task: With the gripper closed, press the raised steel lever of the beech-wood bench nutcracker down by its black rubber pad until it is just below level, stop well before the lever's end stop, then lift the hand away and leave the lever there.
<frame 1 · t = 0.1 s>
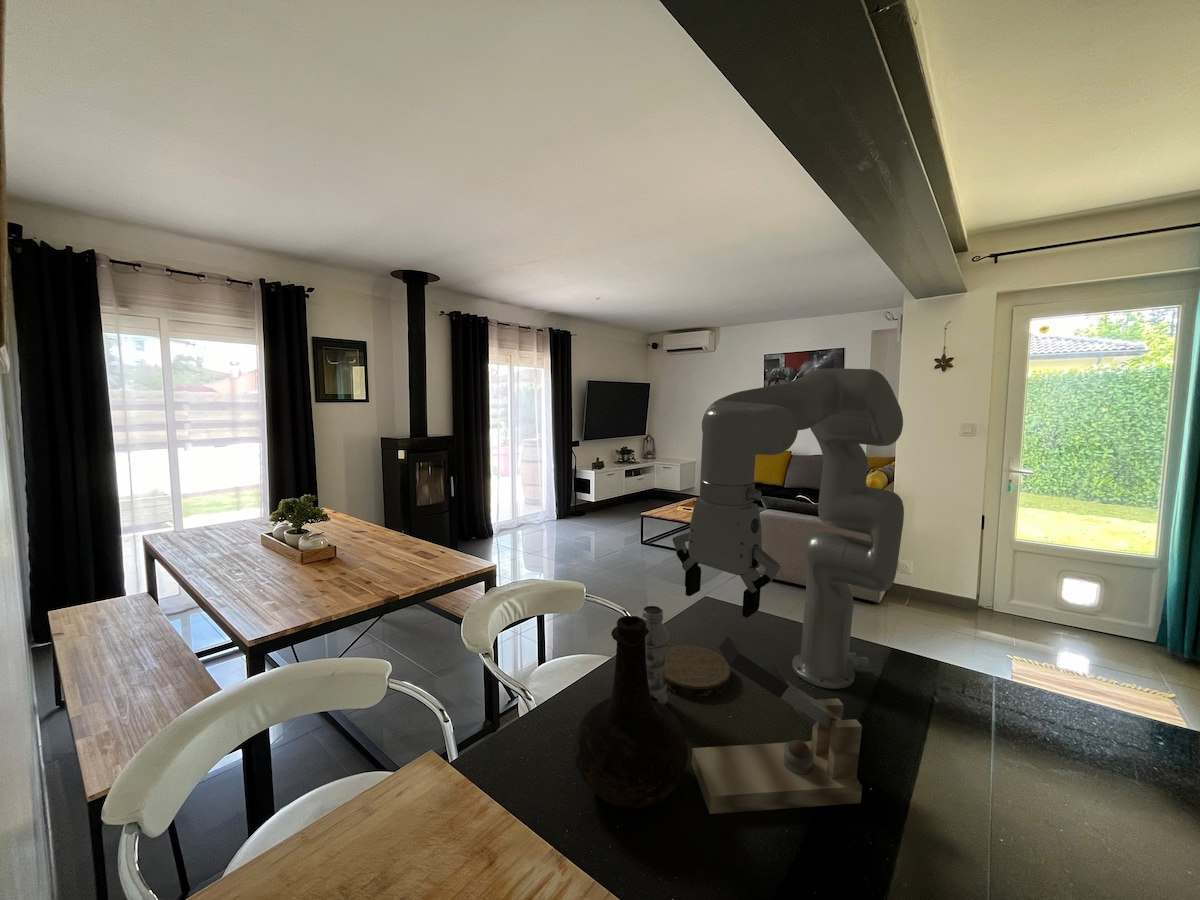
hand: (720, 603, 80), 31 cm above the kitchen counter, tool pointing down, fingers open, 9 cm apart
brown round flat disc: (692, 677, 115), on the kitchen counter
plastic bottle: (650, 705, 105), on the kitchen counter
lever: (782, 689, 83), point 17 cm above the kitchen counter, hinge at -35.0°
nutcracker base: (772, 782, 86), on the kitchen counter
glass bottle: (629, 783, 85), on the kitchen counter
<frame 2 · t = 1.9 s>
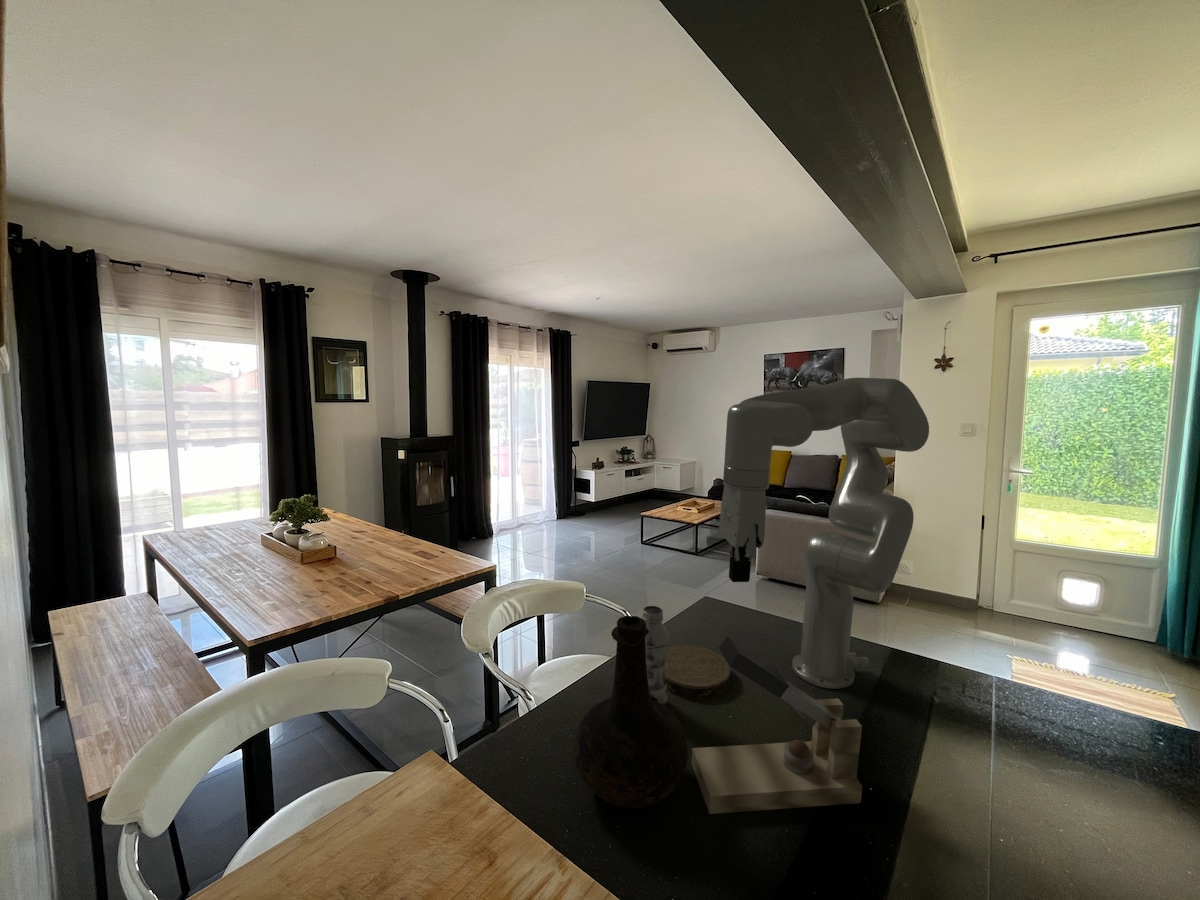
hand: (739, 579, 93), 29 cm above the kitchen counter, tool pointing down, fingers closed
nothing on the kitchen counter moved.
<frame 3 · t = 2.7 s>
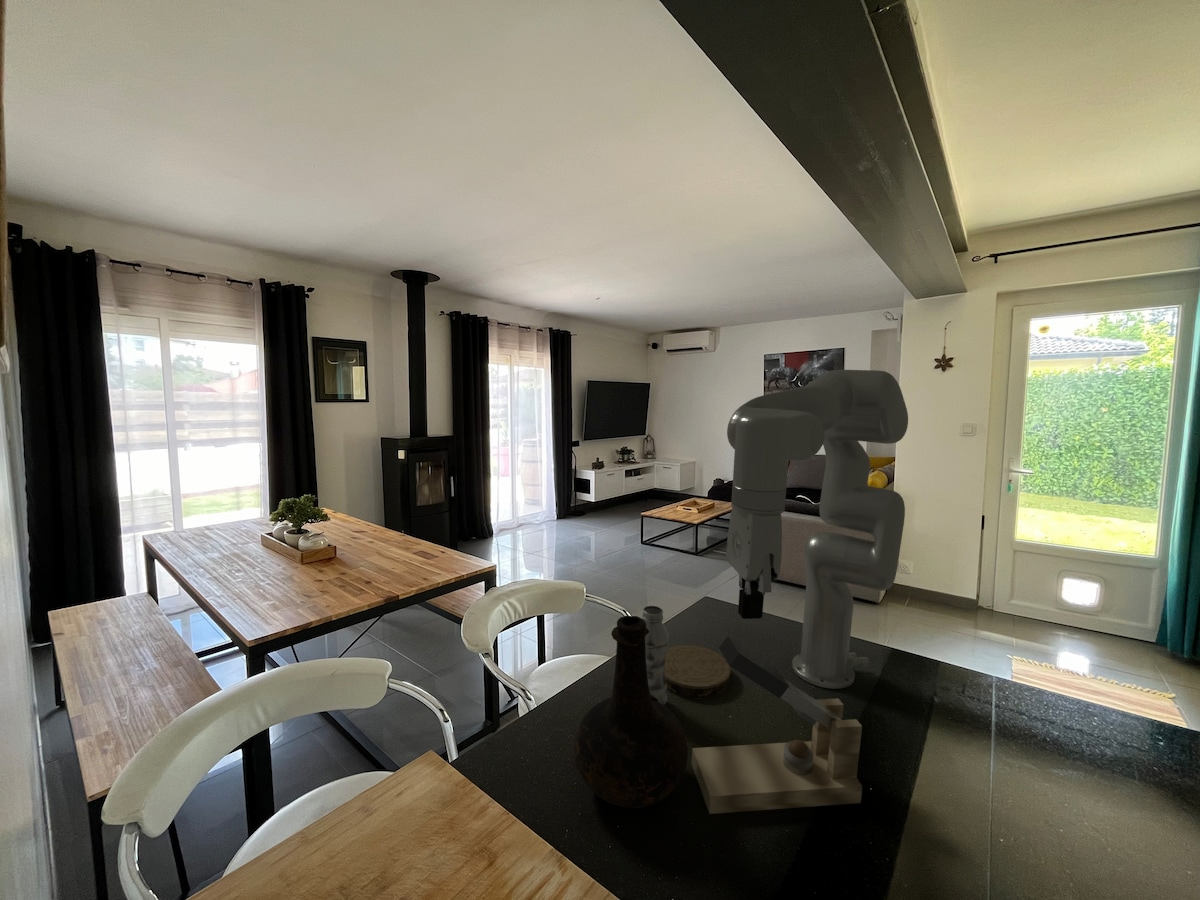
hand: (749, 615, 80), 29 cm above the kitchen counter, tool pointing down, fingers closed
nothing on the kitchen counter moved.
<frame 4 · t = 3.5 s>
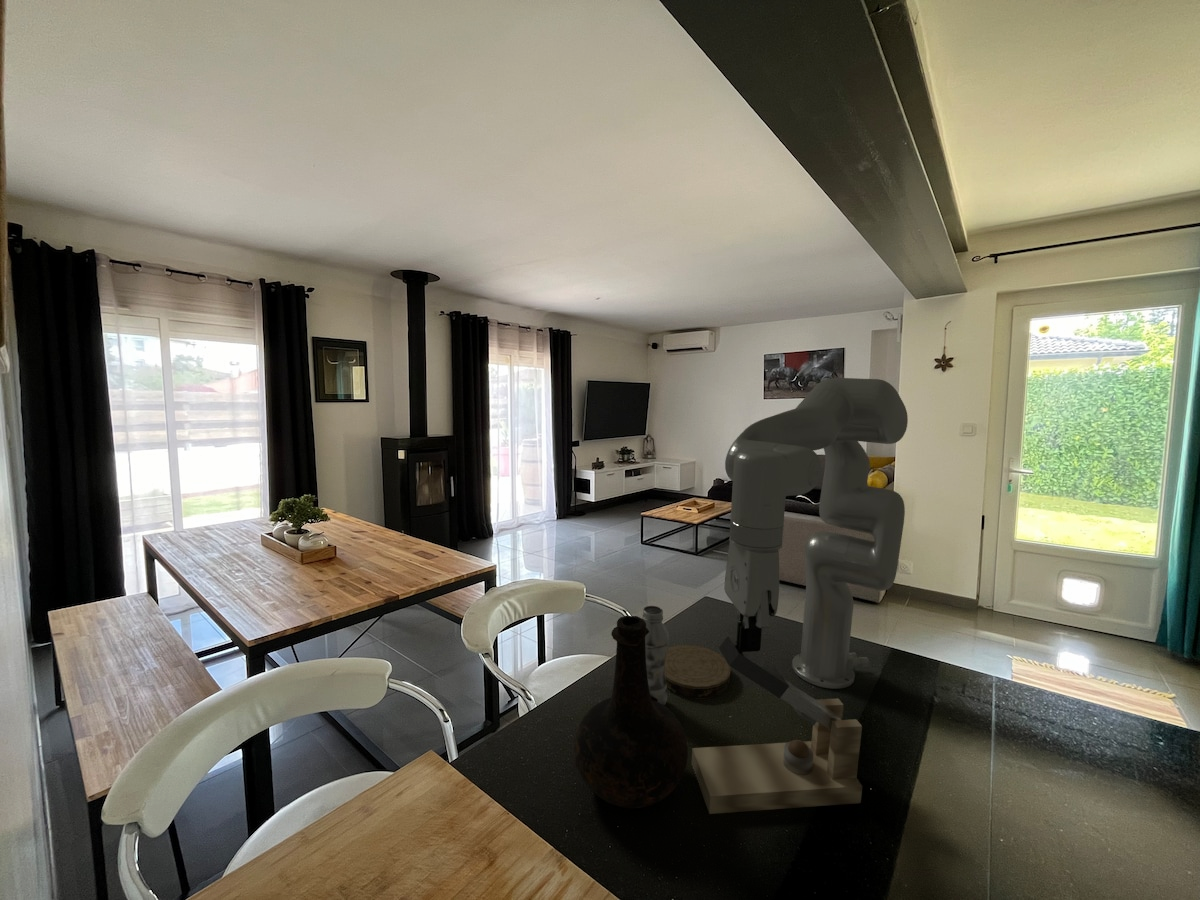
hand: (748, 648, 81), 24 cm above the kitchen counter, tool pointing down, fingers closed
lever: (782, 689, 83), point 17 cm above the kitchen counter, hinge at -35.0°, touching gripper
everything else where it was.
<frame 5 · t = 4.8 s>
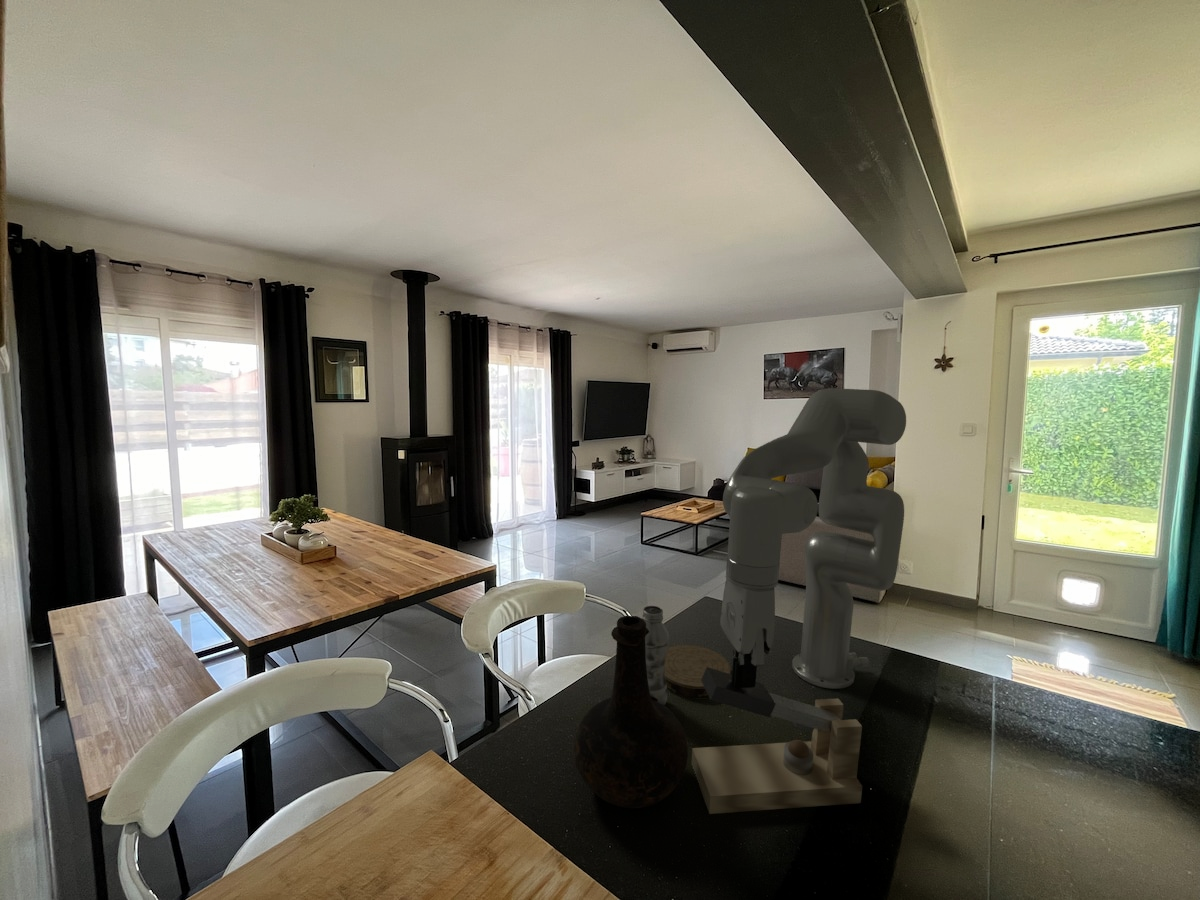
hand: (743, 684, 81), 18 cm above the kitchen counter, tool pointing down, fingers closed
lever: (773, 705, 83), point 14 cm above the kitchen counter, hinge at -19.9°, touching gripper
everything else where it was.
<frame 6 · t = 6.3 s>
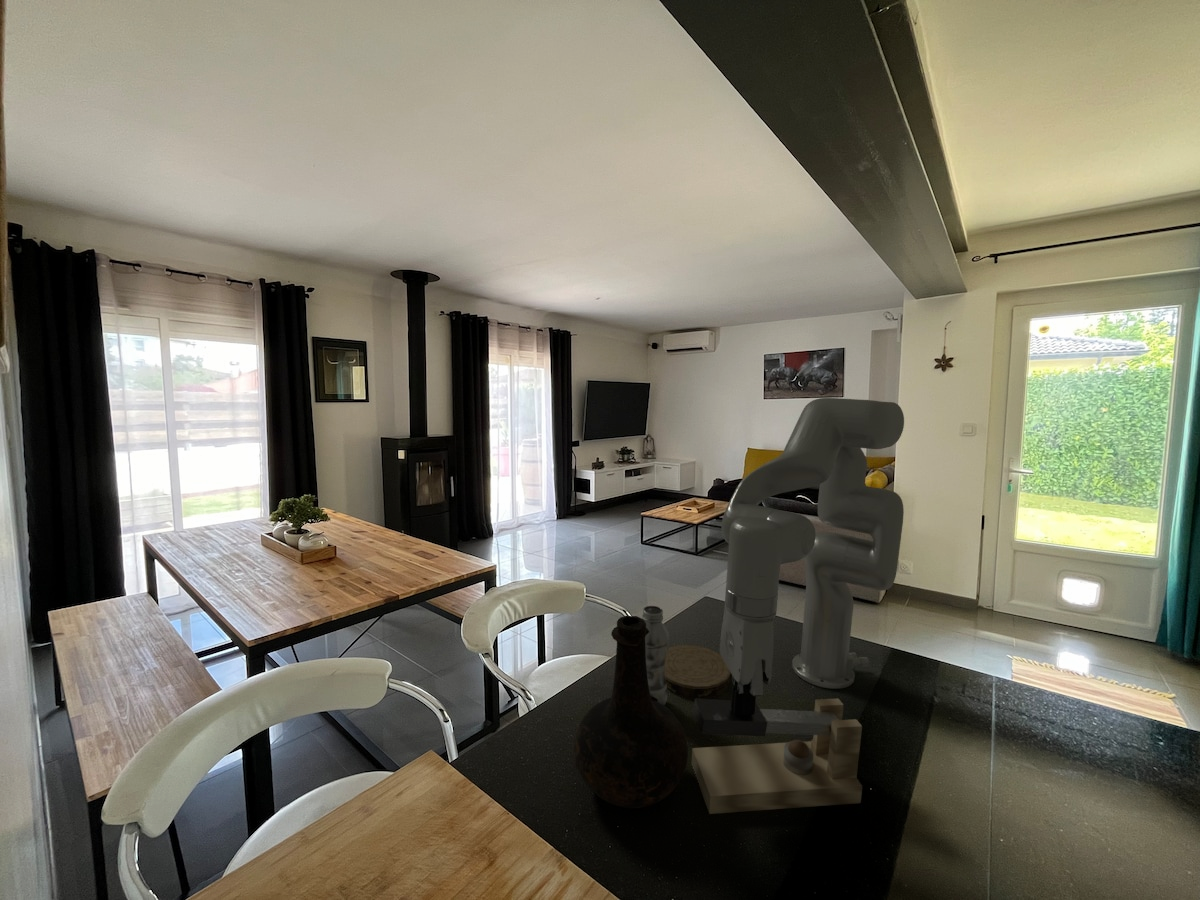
hand: (742, 711, 82), 13 cm above the kitchen counter, tool pointing down, fingers closed
lever: (768, 721, 84), point 11 cm above the kitchen counter, hinge at -5.7°, touching gripper
everything else where it was.
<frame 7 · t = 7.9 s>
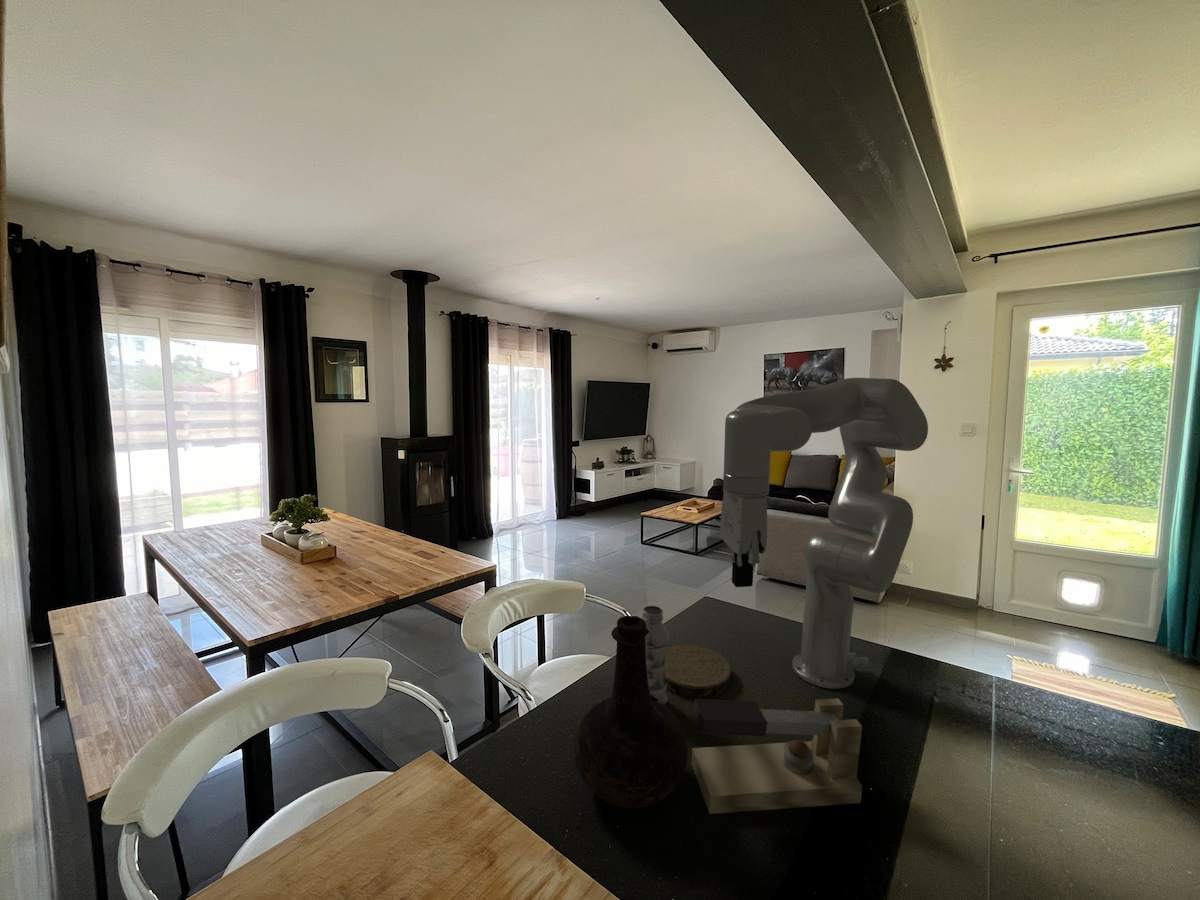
hand: (742, 584, 93), 28 cm above the kitchen counter, tool pointing down, fingers closed
lever: (768, 721, 84), point 11 cm above the kitchen counter, hinge at -5.7°
everything else where it was.
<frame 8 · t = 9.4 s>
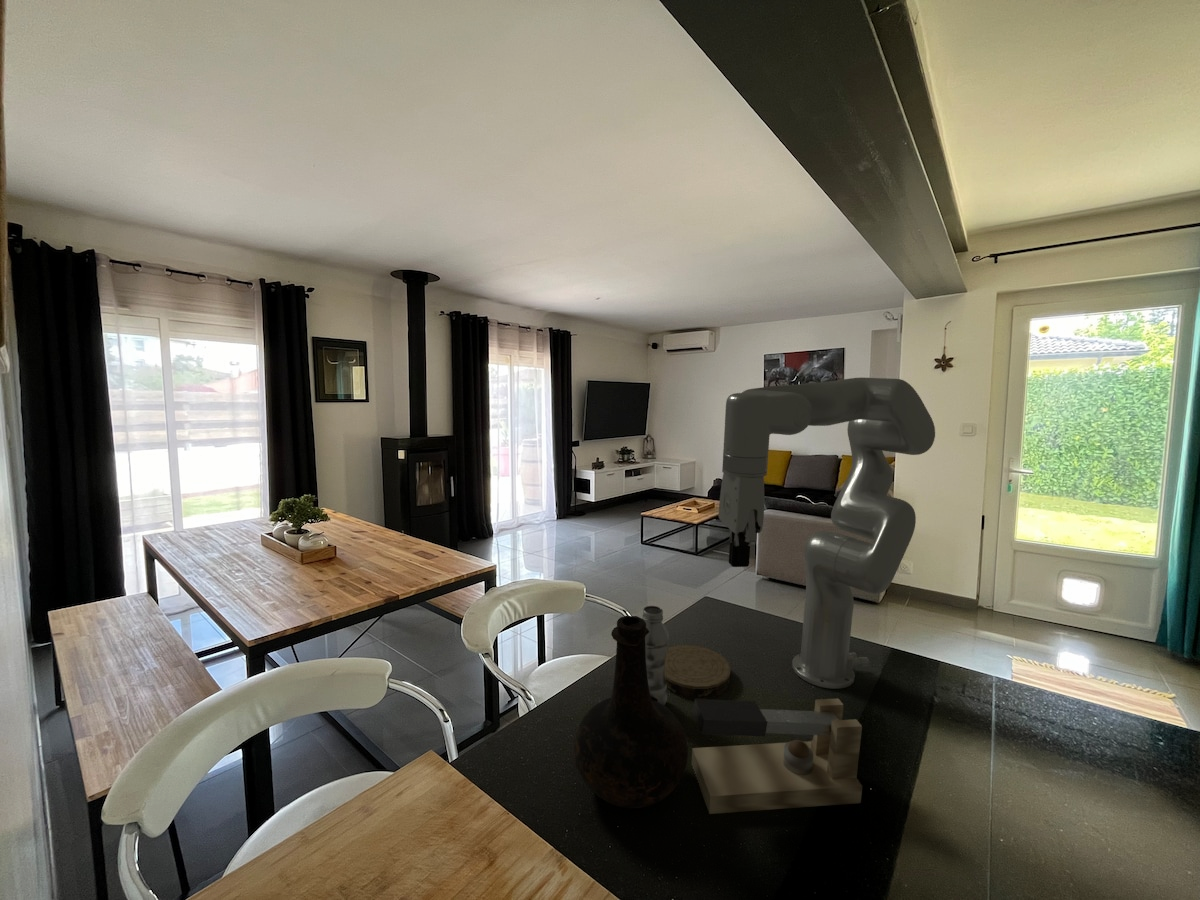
hand: (738, 564, 95), 31 cm above the kitchen counter, tool pointing down, fingers closed
nothing on the kitchen counter moved.
at the end: lever at -6° (first picture: -35°); plastic bottle moved 0.2 cm from its start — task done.
